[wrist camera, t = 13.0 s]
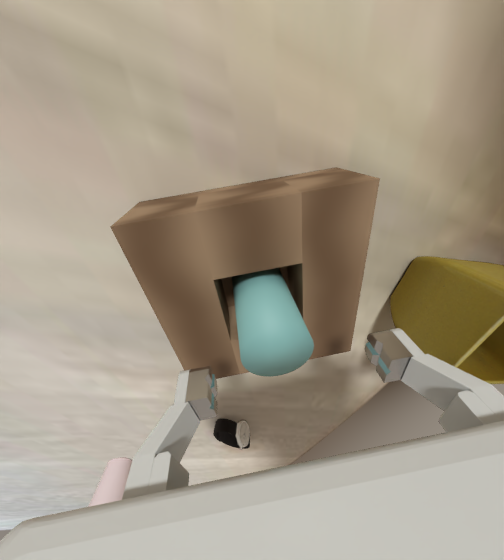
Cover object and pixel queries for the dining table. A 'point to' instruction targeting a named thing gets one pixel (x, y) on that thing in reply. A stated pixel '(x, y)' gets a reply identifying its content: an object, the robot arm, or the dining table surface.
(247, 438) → the watch
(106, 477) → the smoothie
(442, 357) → the flower pot
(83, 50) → the dining table surface
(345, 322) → the bore block
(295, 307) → the dowel
